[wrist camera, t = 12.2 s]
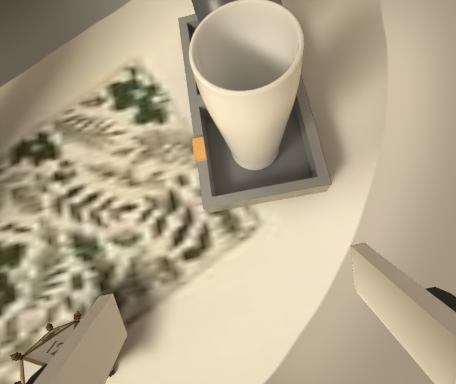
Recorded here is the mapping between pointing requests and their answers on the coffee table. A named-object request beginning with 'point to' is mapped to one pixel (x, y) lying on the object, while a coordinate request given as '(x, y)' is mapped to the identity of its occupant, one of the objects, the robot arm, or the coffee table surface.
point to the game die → (45, 349)
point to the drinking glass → (249, 75)
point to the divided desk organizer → (221, 155)
